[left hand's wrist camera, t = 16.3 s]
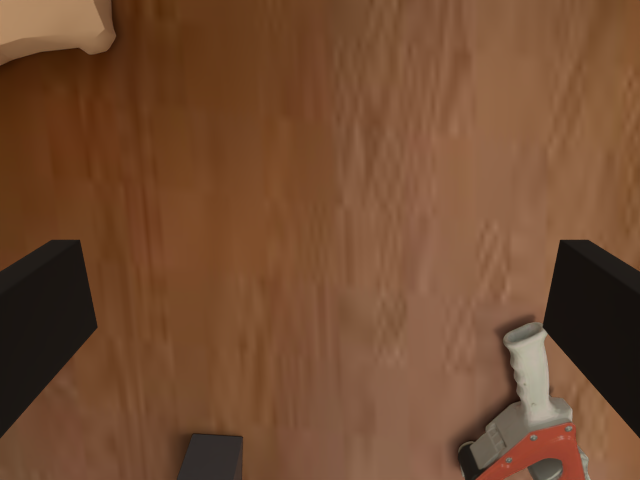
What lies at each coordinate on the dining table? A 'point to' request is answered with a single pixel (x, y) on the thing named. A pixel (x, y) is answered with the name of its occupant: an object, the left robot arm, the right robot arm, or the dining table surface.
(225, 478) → the bar
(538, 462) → the tape dispenser
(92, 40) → the squash
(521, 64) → the dining table surface
